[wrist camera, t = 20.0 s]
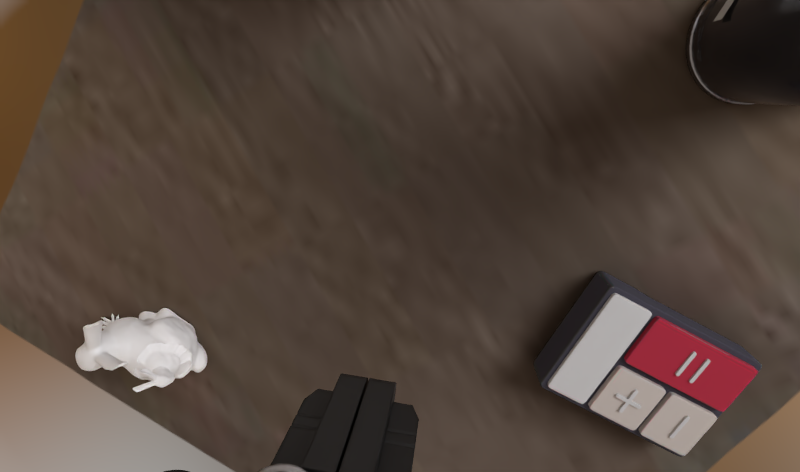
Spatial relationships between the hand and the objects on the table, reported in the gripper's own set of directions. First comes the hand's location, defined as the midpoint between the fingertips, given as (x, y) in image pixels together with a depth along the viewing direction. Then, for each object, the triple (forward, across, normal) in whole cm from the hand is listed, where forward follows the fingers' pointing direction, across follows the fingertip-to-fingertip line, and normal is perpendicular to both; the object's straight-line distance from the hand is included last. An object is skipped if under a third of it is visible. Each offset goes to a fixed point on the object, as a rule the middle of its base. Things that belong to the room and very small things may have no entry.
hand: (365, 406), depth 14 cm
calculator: (+32, -20, +13) cm, 41 cm away
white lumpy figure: (+32, +25, +18) cm, 44 cm away
